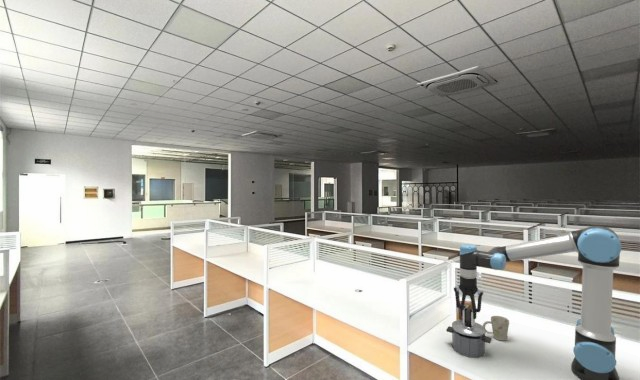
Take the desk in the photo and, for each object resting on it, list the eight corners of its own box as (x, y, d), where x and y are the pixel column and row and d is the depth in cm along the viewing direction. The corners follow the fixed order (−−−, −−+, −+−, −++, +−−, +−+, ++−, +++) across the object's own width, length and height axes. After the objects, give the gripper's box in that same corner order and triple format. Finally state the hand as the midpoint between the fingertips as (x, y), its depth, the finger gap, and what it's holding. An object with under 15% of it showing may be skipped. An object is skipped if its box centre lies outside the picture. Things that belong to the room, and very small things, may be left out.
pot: (493, 349, 148) (493, 331, 148) (488, 363, 137) (488, 343, 136) (451, 337, 160) (451, 320, 160) (443, 349, 149) (443, 331, 149)
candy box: (472, 326, 171) (471, 300, 171) (475, 330, 167) (475, 303, 166) (455, 326, 172) (455, 300, 172) (458, 330, 168) (458, 303, 167)
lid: (488, 327, 149) (488, 307, 149) (482, 339, 138) (482, 318, 137) (456, 319, 159) (456, 300, 158) (448, 330, 147) (448, 310, 147)
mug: (511, 342, 154) (511, 323, 154) (485, 340, 157) (485, 321, 156) (505, 334, 162) (505, 316, 162) (480, 332, 165) (480, 314, 164)
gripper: (488, 277, 145) (488, 325, 146) (452, 271, 155) (453, 316, 156) (485, 281, 140) (485, 331, 140) (448, 275, 150) (449, 321, 150)
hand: (468, 323), depth 148 cm, fingers closed on lid, 3 cm apart
